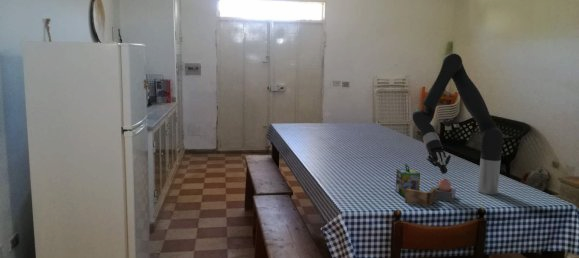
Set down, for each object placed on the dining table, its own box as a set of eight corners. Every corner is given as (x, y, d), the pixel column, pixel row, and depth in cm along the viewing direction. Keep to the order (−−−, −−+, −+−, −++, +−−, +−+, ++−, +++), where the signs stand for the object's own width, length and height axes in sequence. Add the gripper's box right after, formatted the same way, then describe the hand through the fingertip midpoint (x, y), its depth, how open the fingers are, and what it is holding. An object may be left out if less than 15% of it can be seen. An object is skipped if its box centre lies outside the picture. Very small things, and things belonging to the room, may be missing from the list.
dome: (451, 191, 208) (452, 178, 207) (448, 193, 203) (449, 180, 202) (439, 189, 211) (440, 176, 210) (436, 191, 206) (437, 178, 205)
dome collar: (455, 196, 209) (455, 188, 208) (451, 201, 201) (452, 193, 201) (436, 193, 213) (436, 185, 213) (431, 198, 206) (432, 190, 205)
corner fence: (435, 200, 203) (436, 187, 202) (429, 206, 193) (430, 193, 192) (411, 196, 209) (412, 184, 208) (404, 201, 199) (405, 189, 198)
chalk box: (419, 196, 208) (421, 166, 206) (401, 196, 208) (402, 166, 206) (412, 190, 218) (414, 162, 215) (394, 191, 217) (396, 162, 215)
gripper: (424, 139, 211) (436, 169, 201) (447, 138, 214) (460, 168, 204) (417, 147, 217) (429, 177, 207) (440, 147, 220) (453, 176, 210)
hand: (445, 172), depth 206 cm, fingers closed
